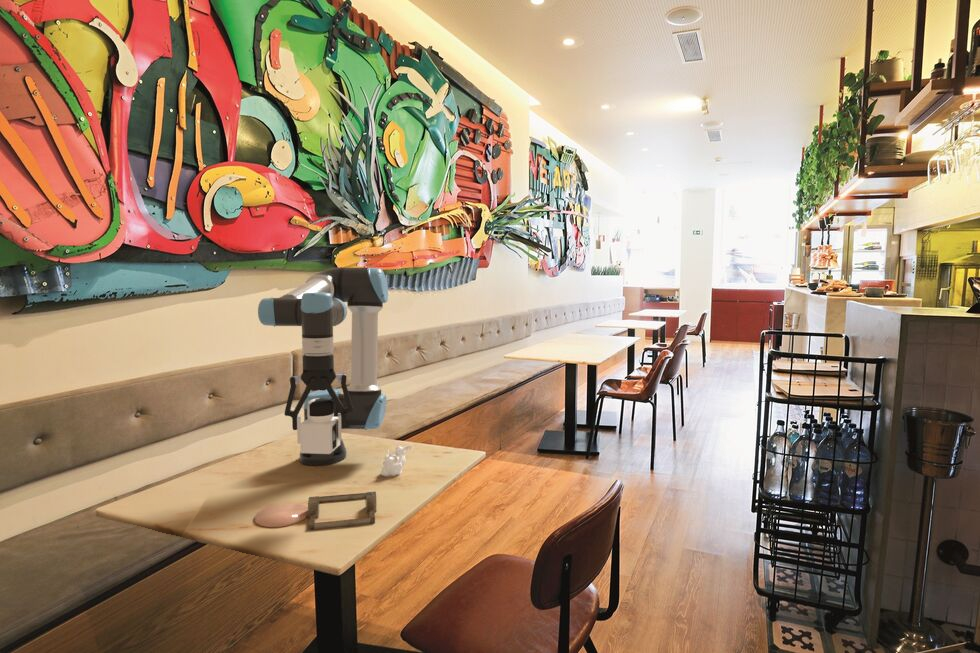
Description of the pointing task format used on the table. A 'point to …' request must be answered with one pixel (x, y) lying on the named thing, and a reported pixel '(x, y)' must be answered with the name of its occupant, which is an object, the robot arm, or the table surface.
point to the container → (319, 428)
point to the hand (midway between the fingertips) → (319, 440)
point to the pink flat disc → (281, 515)
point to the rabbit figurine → (394, 462)
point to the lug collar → (314, 513)
